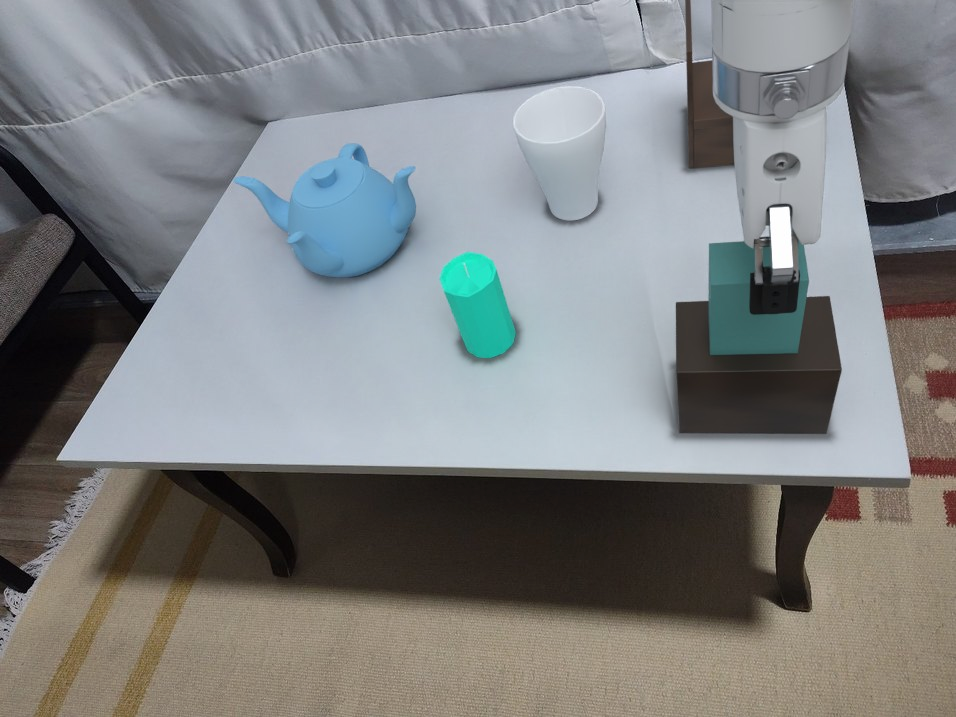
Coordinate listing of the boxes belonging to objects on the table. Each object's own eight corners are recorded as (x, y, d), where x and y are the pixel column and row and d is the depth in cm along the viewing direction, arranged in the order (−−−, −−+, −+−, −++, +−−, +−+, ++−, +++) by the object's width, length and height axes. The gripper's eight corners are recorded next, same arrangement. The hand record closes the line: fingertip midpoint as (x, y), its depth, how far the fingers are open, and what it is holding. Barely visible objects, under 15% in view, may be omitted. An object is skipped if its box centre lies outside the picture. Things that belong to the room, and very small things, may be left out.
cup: (530, 237, 93) (508, 149, 83) (535, 181, 100) (515, 92, 89) (616, 229, 91) (605, 137, 80) (616, 172, 97) (605, 79, 87)
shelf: (794, 98, 98) (808, -24, 85) (804, 158, 91) (820, 35, 78) (687, 110, 101) (685, -6, 89) (688, 168, 94) (686, 52, 82)
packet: (792, 312, 66) (802, 237, 59) (797, 353, 63) (809, 280, 56) (708, 315, 67) (708, 243, 61) (709, 355, 65) (710, 284, 58)
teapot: (331, 316, 93) (289, 245, 84) (272, 244, 104) (229, 174, 95) (444, 241, 97) (415, 165, 87) (375, 179, 108) (343, 106, 98)
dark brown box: (816, 363, 73) (829, 295, 66) (826, 434, 69) (842, 369, 61) (678, 366, 77) (675, 301, 69) (679, 433, 72) (676, 372, 65)
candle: (464, 321, 87) (435, 247, 78) (514, 313, 86) (492, 237, 77) (464, 362, 84) (434, 289, 75) (517, 354, 83) (493, 279, 74)
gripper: (869, 148, 39) (835, 349, 52) (828, -21, 49) (808, 183, 62) (717, 164, 41) (720, 354, 54) (707, -1, 51) (712, 192, 64)
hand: (767, 262), depth 58 cm, fingers open, 9 cm apart
